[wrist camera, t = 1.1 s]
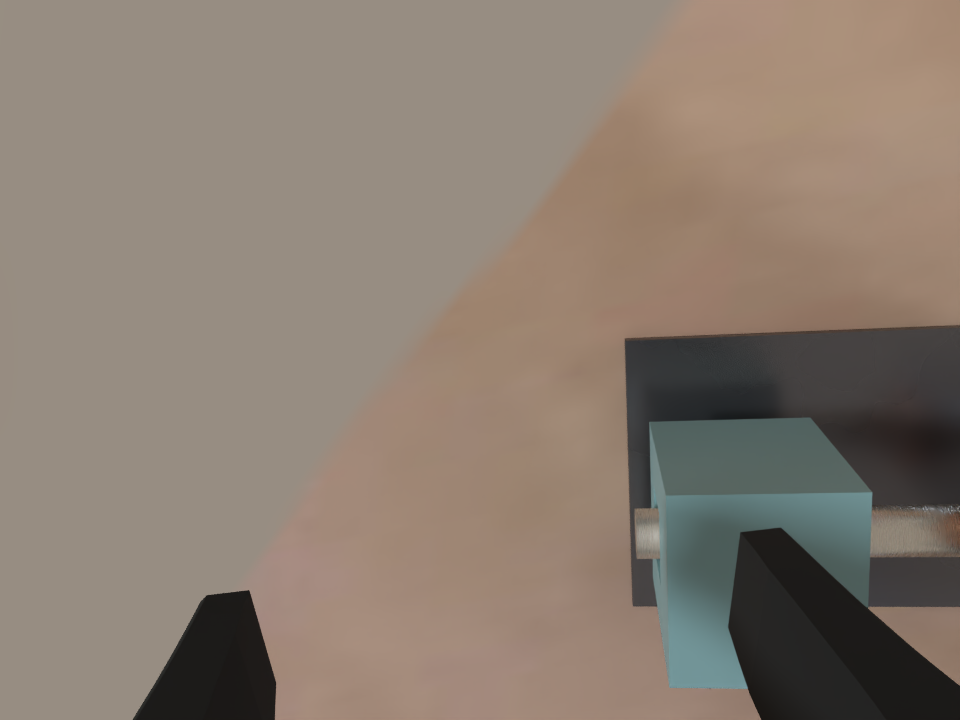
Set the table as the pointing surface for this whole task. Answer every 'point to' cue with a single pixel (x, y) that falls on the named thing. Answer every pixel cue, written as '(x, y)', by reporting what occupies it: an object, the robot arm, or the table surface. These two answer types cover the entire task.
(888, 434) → the grey metal stand
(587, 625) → the table surface
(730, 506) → the teal block on rod
